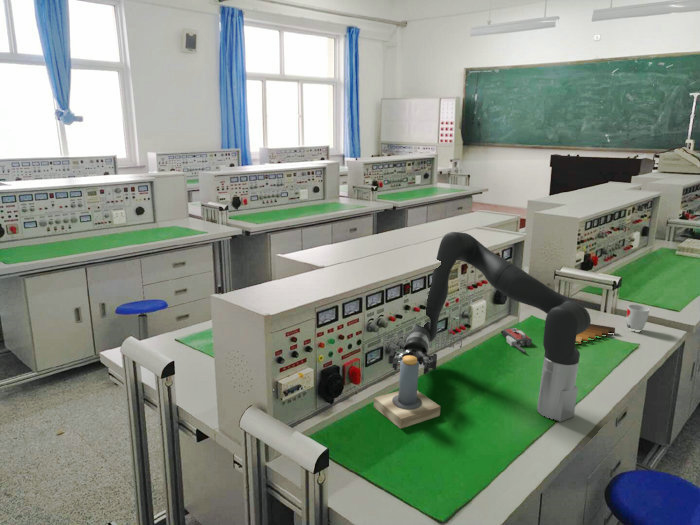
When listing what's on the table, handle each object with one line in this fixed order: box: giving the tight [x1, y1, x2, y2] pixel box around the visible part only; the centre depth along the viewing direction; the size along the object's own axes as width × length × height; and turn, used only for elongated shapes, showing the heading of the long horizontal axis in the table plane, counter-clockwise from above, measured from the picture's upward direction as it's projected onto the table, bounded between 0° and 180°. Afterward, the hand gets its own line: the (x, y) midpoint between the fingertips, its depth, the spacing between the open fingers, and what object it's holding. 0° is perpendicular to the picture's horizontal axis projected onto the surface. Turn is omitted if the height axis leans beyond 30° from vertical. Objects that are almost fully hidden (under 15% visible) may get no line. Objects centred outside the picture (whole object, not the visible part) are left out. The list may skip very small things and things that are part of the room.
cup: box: [626, 304, 650, 331], centre depth 225 cm, size 8×8×10 cm
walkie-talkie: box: [500, 327, 533, 354], centre depth 208 cm, size 9×4×20 cm
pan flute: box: [576, 323, 616, 345], centre depth 216 cm, size 25×3×25 cm
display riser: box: [373, 390, 442, 430], centre depth 156 cm, size 13×14×3 cm
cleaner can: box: [398, 355, 420, 405], centre depth 154 cm, size 5×5×13 cm
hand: (410, 369), depth 156 cm, fingers open, 8 cm apart
